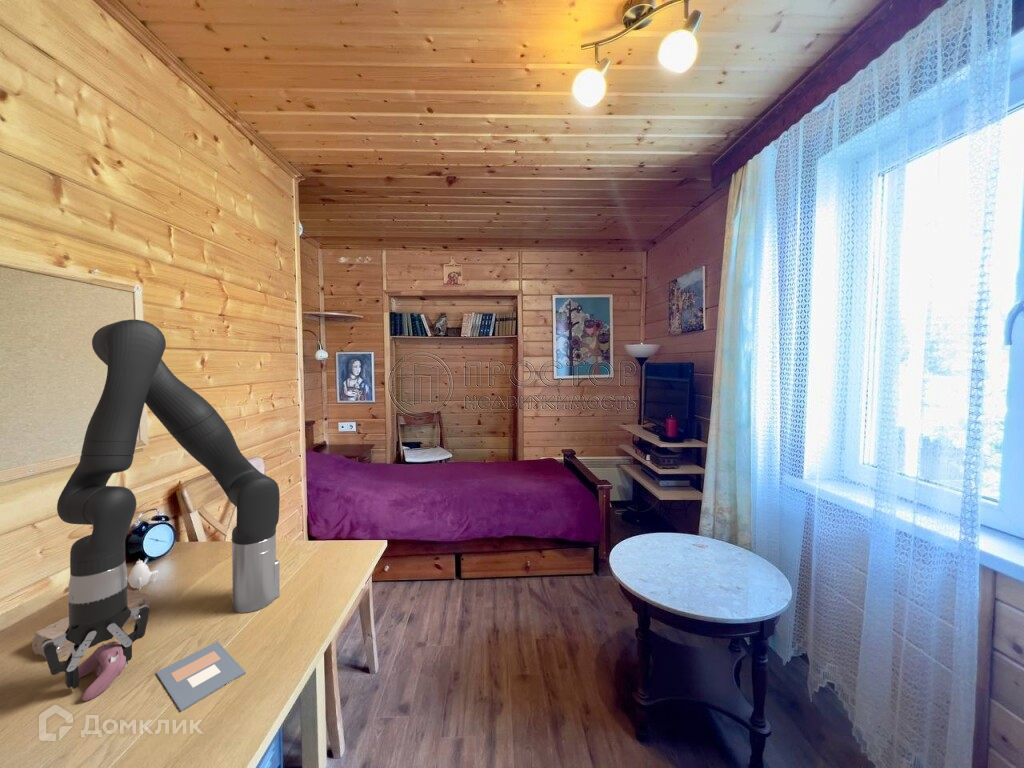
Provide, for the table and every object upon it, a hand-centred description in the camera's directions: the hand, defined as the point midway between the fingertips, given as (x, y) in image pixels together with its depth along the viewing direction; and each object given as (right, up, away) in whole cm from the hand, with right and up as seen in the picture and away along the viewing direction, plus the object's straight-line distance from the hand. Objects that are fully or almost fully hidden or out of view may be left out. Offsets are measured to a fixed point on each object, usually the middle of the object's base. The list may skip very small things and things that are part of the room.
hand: (100, 674), depth 72 cm
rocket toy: (-21, +1, +29) cm, 35 cm away
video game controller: (0, -1, 0) cm, 1 cm away
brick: (-15, 0, +13) cm, 20 cm away
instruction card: (+18, -1, +2) cm, 18 cm away
